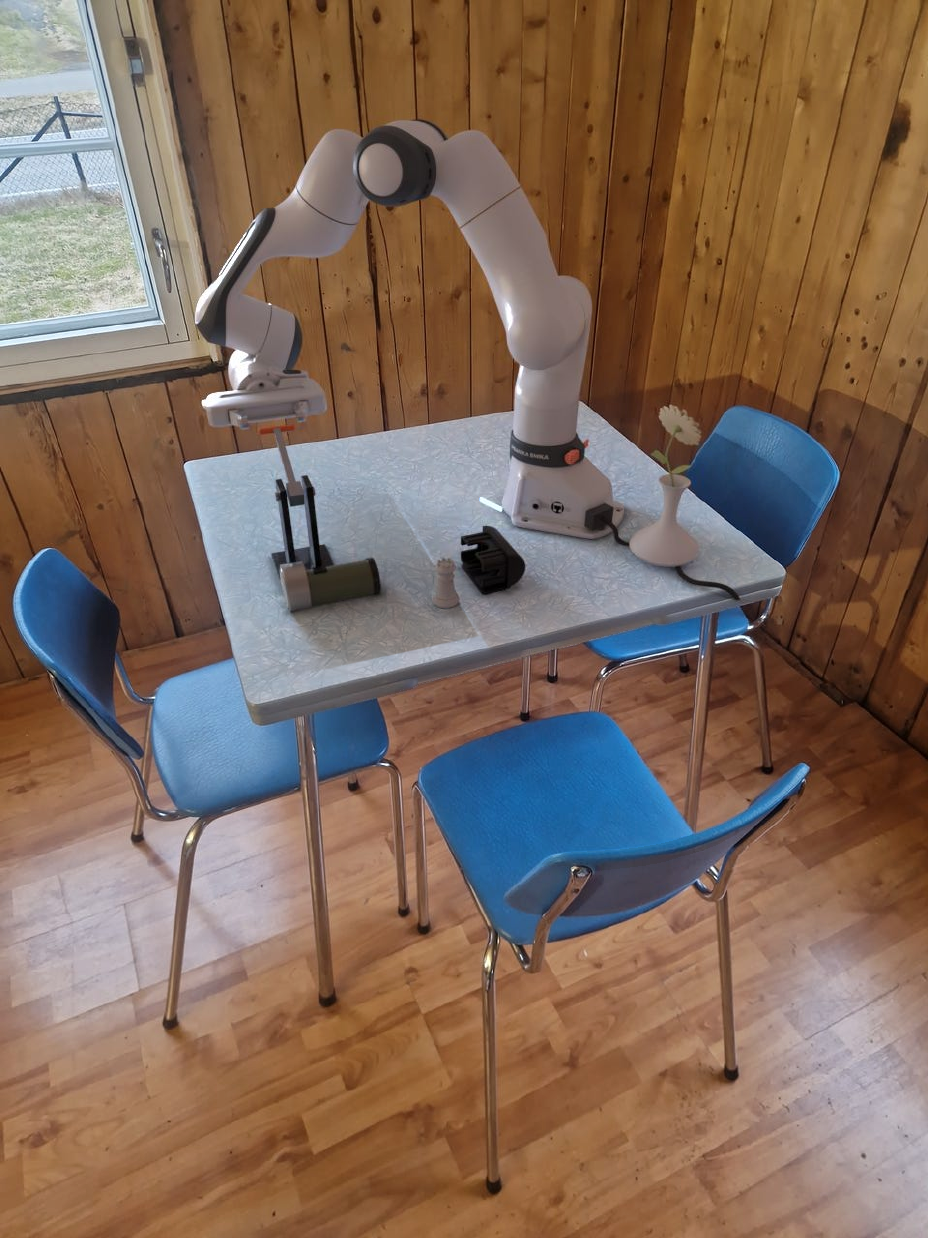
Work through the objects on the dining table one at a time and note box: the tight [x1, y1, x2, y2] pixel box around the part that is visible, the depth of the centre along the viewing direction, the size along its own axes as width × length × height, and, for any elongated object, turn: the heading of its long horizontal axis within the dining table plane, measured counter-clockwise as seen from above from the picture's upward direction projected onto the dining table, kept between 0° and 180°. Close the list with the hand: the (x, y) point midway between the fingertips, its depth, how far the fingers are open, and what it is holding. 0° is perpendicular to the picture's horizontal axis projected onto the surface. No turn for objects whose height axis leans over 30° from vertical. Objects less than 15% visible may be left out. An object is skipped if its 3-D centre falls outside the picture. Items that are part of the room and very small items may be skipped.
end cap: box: [460, 525, 526, 596], centre depth 132 cm, size 10×7×7 cm
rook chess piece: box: [431, 557, 461, 609], centre depth 125 cm, size 4×4×8 cm
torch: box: [280, 556, 382, 613], centre depth 126 cm, size 14×7×7 cm, turn 110°
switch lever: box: [258, 424, 305, 508], centre depth 130 cm, size 16×6×2 cm, turn 19°
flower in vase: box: [628, 404, 702, 568], centre depth 133 cm, size 13×11×25 cm
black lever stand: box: [270, 474, 334, 587], centre depth 131 cm, size 11×9×16 cm
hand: (273, 421), depth 137 cm, fingers open, 8 cm apart
